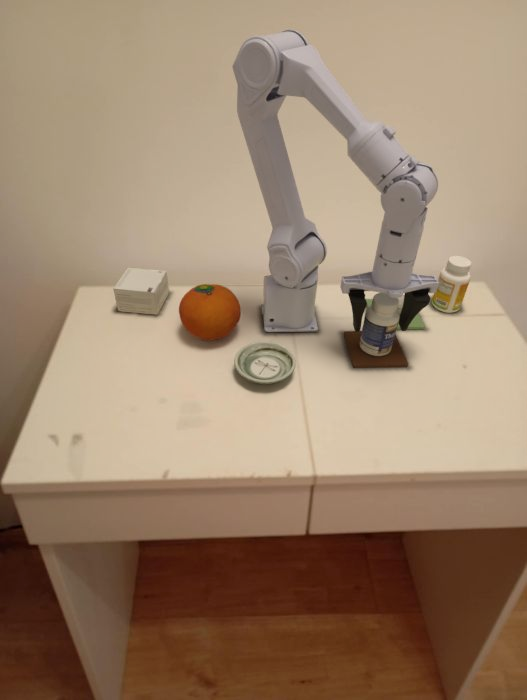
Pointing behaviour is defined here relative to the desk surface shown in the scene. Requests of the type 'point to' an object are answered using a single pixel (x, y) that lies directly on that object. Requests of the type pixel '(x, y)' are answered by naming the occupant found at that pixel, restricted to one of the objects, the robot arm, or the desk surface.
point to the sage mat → (415, 323)
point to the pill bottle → (380, 325)
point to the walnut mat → (366, 360)
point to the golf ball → (400, 304)
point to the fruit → (209, 311)
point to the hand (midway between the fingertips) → (379, 327)
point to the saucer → (265, 362)
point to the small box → (141, 291)
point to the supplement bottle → (452, 284)
